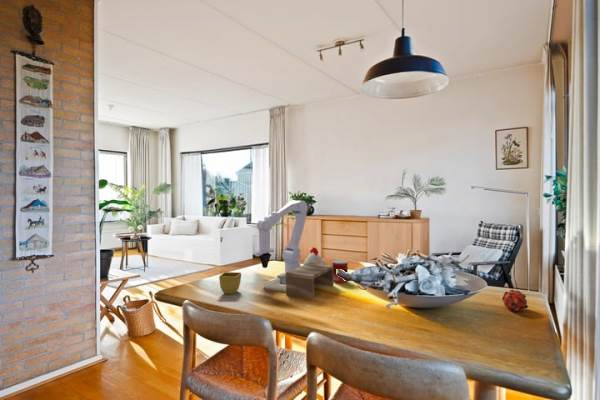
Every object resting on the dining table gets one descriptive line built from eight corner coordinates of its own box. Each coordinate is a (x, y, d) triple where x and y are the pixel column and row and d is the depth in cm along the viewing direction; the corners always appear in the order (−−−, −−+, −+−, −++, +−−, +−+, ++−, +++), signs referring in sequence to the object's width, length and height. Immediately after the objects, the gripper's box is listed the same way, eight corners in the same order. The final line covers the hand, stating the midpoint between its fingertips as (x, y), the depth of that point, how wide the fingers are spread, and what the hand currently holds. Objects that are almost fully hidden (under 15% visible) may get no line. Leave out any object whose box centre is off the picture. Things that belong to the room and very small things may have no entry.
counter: (309, 282, 182) (309, 263, 181) (333, 285, 175) (333, 265, 175) (286, 294, 161) (285, 272, 160) (312, 299, 154) (312, 275, 154)
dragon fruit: (516, 309, 142) (516, 322, 132) (497, 295, 145) (496, 307, 135) (531, 295, 138) (532, 308, 128) (511, 281, 141) (511, 293, 131)
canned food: (348, 283, 179) (348, 262, 178) (333, 283, 179) (333, 262, 179) (346, 279, 186) (346, 259, 186) (332, 279, 187) (332, 259, 186)
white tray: (280, 281, 185) (280, 270, 185) (301, 283, 179) (301, 272, 179) (263, 288, 171) (263, 276, 171) (285, 292, 165) (285, 279, 165)
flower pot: (242, 290, 169) (241, 272, 169) (237, 295, 160) (236, 276, 160) (224, 289, 170) (224, 272, 170) (219, 295, 161) (218, 276, 161)
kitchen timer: (310, 276, 195) (309, 250, 195) (298, 271, 207) (298, 247, 207) (330, 273, 202) (330, 248, 202) (318, 268, 214) (317, 245, 214)
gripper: (266, 239, 189) (266, 264, 189) (250, 243, 176) (250, 269, 176) (276, 240, 185) (277, 265, 185) (261, 244, 172) (261, 271, 173)
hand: (264, 267), depth 181 cm, fingers closed
